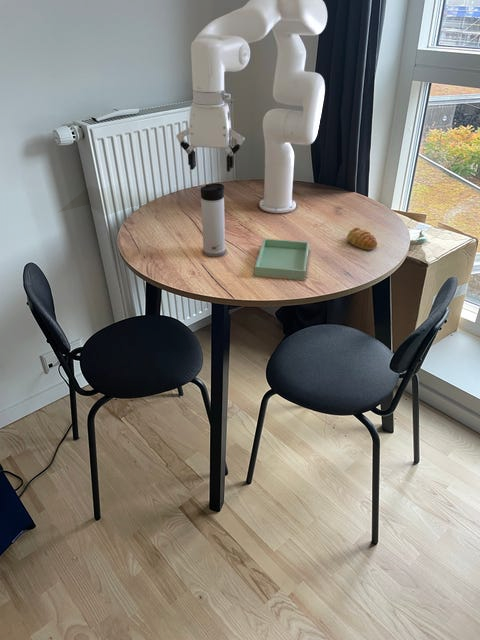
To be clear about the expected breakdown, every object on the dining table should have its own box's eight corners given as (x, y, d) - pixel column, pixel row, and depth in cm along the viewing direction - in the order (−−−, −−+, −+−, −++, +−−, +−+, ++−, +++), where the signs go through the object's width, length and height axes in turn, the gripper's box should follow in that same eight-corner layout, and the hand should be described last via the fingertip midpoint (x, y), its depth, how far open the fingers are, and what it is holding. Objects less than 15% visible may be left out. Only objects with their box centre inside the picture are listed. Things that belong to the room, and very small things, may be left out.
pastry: (382, 247, 142) (384, 235, 140) (365, 253, 140) (367, 241, 137) (360, 235, 149) (362, 224, 147) (343, 241, 146) (345, 229, 144)
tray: (263, 247, 143) (263, 238, 141) (308, 250, 141) (309, 241, 140) (254, 276, 129) (254, 266, 128) (304, 280, 127) (305, 271, 126)
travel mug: (218, 259, 137) (216, 190, 125) (199, 253, 140) (195, 186, 128) (230, 250, 141) (229, 183, 130) (211, 245, 144) (208, 179, 133)
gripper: (247, 96, 118) (246, 166, 128) (178, 94, 121) (182, 163, 131) (241, 102, 112) (241, 175, 122) (169, 99, 115) (175, 171, 125)
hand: (211, 169), depth 126 cm, fingers open, 9 cm apart
